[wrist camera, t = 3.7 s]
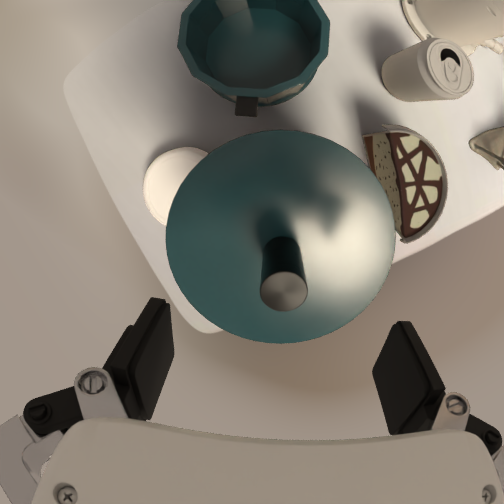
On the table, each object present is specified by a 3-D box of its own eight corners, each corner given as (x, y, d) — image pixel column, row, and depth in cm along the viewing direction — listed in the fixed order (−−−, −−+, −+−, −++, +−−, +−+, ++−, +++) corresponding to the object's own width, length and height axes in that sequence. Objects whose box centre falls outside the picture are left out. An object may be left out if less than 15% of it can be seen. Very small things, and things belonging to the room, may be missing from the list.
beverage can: (421, 60, 26) (473, 44, 15) (424, 105, 29) (479, 105, 18) (377, 52, 27) (419, 27, 16) (380, 99, 29) (426, 92, 18)
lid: (413, 153, 16) (456, 168, 11) (359, 344, 22) (373, 391, 17) (169, 122, 16) (132, 124, 11) (173, 325, 22) (153, 370, 18)
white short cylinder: (139, 170, 35) (127, 175, 32) (203, 132, 33) (196, 133, 30) (175, 234, 39) (167, 244, 36) (240, 202, 36) (237, 211, 33)
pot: (322, 1, 24) (336, -30, 16) (312, 125, 32) (325, 125, 23) (206, -6, 25) (187, -37, 17) (192, 115, 32) (166, 113, 24)
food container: (417, 207, 35) (454, 235, 25) (377, 217, 36) (407, 248, 27) (402, 116, 30) (443, 118, 21) (358, 123, 31) (389, 125, 22)
